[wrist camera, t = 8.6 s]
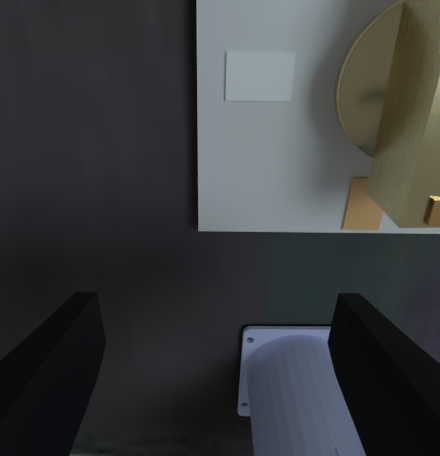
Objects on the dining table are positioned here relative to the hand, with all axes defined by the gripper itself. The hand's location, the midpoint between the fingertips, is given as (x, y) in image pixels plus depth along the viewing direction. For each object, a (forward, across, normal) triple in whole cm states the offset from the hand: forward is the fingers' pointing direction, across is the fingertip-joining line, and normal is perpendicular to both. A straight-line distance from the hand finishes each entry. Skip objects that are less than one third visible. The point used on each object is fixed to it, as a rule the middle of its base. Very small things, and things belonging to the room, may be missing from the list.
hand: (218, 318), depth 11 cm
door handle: (+8, -8, -6) cm, 13 cm away
